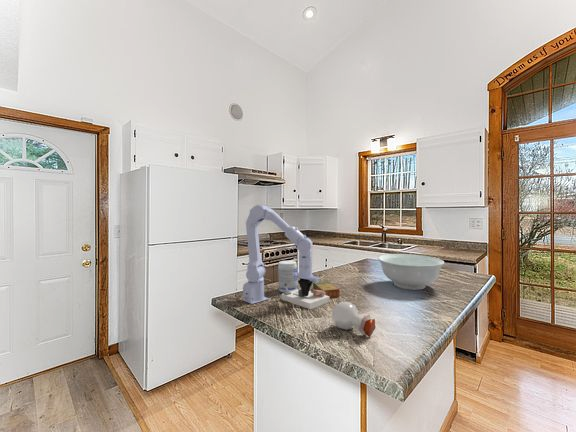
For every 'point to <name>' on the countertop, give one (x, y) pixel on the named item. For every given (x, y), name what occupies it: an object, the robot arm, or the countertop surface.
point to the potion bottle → (352, 318)
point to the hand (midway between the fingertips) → (305, 295)
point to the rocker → (318, 292)
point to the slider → (300, 293)
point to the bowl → (411, 270)
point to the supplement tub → (287, 275)
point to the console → (305, 299)
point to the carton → (327, 288)
